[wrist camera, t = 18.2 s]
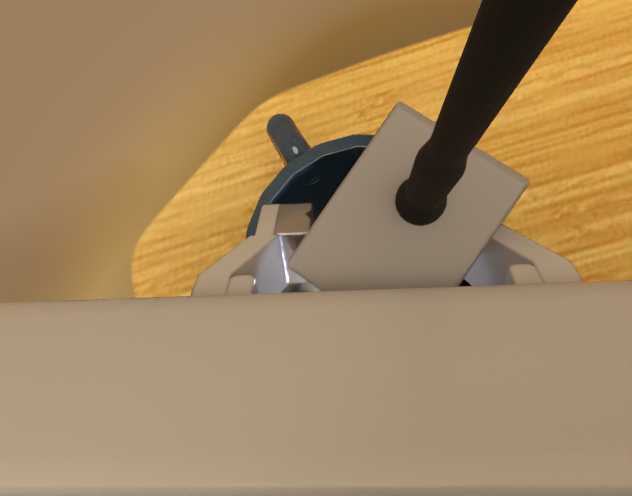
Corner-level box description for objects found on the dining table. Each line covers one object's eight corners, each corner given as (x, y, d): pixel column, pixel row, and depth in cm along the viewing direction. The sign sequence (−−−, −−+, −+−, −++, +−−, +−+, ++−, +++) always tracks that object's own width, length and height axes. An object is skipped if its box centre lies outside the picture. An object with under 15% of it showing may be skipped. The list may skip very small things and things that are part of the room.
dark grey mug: (473, 297, 30) (550, 295, 18) (340, 381, 30) (328, 434, 18) (361, 131, 32) (363, 31, 20) (236, 211, 32) (164, 159, 20)
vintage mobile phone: (336, 280, 27) (16, 180, 3) (383, 212, 28) (478, -481, 3) (388, 316, 27) (567, 598, 2) (436, 246, 27) (1138, -246, 2)
